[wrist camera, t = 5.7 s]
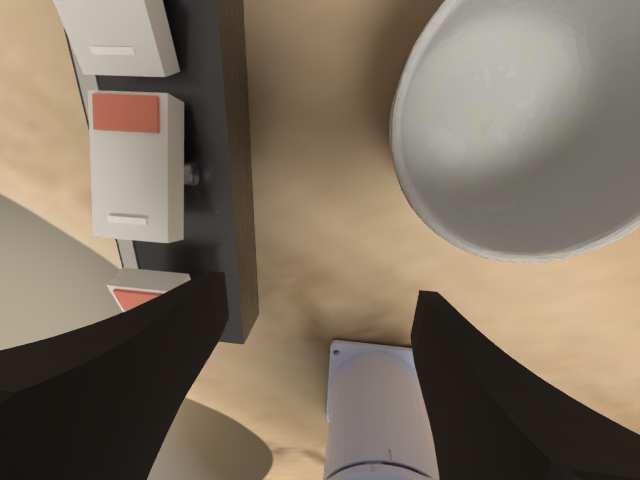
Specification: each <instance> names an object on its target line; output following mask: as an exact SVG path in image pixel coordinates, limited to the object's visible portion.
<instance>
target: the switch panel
mask: <svg viewBox="0 0 640 480" xmlns="http://www.w3.org/2000/svg"><path fill="white" fill-rule="evenodd" d="M163 4H164V8H165V12H166V16H167V20H168V24H169V28H170V32H171V36H172V40H173V44H174V48H175V53H176V57H177V61H178V65H179V69H180V72H178V73H175V74H172V75H170V76H167V77H144V76H112V75H84V74H83V71H82V69H81V67H80V64H79V62H78V60H77V57H76V55H75V52H74V50H73V48H72V45H71V43H70V40H69V38H68V36H67V33H66V31H65V35H66V39H67V43H68V47H69V51H70V55H71V59H72V63H73V67H74V71H75V75H76V80H77V84H78V88H79V92H80V96H81V100H82V104H83V108H84V112H85V116H86V120H87V124H88V129H89V113H88V90H96V91H124V92H152V93H168V94H170V95H172V96H174V97H175V98H177V99H179V100H181V101H182V102H184V240H180V241H175V242H171V243H159V242H147V241H136V240H124V239H116V243H117V247H118V251H119V255H120V259H121V263H122V267H123V268H133V269H143V270H153V271H164V272H174V273H185V274H189V276H190V279H193V278H195V277H197V276H199V275H201V274H203V273H206V272H208V271H213V272H224V273H225V281H226V291H227V300H228V310H229V319H228V321H227V323H226V326H225V328H224V331H223V333H222V335H221V337H220V340H219V341H220V342H228V343H237V344H244V343H245V341H246V339H247V337H248V335H249V333H250V331H251V329H252V327H253V325H254V323H255V321H256V319H257V317H258V315H259V308H258V288H257V268H256V249H255V229H254V210H253V190H252V170H251V151H250V131H249V112H248V92H247V72H246V53H245V33H244V13H243V0H163ZM64 30H65V29H64Z"/></svg>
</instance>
